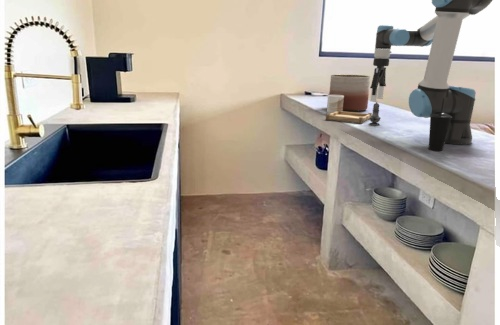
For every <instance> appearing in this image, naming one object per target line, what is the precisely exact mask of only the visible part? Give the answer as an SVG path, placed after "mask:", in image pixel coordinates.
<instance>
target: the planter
mask: <svg viewBox="0 0 500 325" xmlns="http://www.w3.org/2000/svg"><path fill="white" fill-rule="evenodd" d="M329 81H330V83H329V85H330V86H329V92H328V95H343V96H344V105H343V111H344V112H354V113H360V112H363V111H365V110H367V109H368V105H369V95H370V93H369V92H370V84H371V83H370V82H371V76H370V75H365V74H363V75H361V74H331V75H330V80H329Z"/></svg>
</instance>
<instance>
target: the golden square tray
mask: <svg viewBox="0 0 500 325" xmlns="http://www.w3.org/2000/svg"><path fill="white" fill-rule="evenodd" d="M372 114H373V112H368V113H364V112H362V113H361V112H345V111H341V110H337V111H336V112H334V113H331V114H328V113H326V114H325V120H326V121H330V122H331V121H332V122H343V123H350V124H360V125H361V124H365V122H367V121H370V118H369V117H371V116H372Z"/></svg>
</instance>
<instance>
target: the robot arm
mask: <svg viewBox="0 0 500 325" xmlns="http://www.w3.org/2000/svg"><path fill="white" fill-rule="evenodd" d="M492 1H493V0H431V4H432V5H433V6H434V7H435V8H434V14H436V16H434V17H433V18H432V19H430V20H429V21H428V22H426V23H425V24H423V25H422V26H421V27H419V28H418V29H417V28H416V29H407V28H394V26H393V25H389V24H388V25H387V24H386V25H385V24H382V25H378V26H377V30H376V34H375V36H376V37H375V45H374V46H375V47H374V55H373V57H374V58H373V64H372V65H373V66H374V67H375V68H374V72H373V76H372V79H371V83H370V84H371V85H369V89H371V94H370V102H373V103H374V102H375V103H376V102H377V100H378V99H379V100H383V99H384V91H385V87H387V85H386V84H387V83H386V76H387V75H386V72H387V70H386V69H387V67H389V65H390V57H391V53H392V46H395V47H428V46H430V45H431V46H430V50H429V55H428V59H427V64H426V67H425V72H424V76H423V79H422V80H421V81H420V82H418V86H417V88H416V89H413V90H411V92H410V94H409V97H408V106H409V109H410V112H411V113H412V115H414V116H415V117H416V118H424V119H429V118H430V114H433V113H436V112H441V106H442V100H443V98H444V99H445V100H444V106H443V112H445V113H447V114H449V115H451V116H452V118H451V120H450V124H449V127H448V131H447V135H446V139H445V142H444V144H449V145H450V144H452V145H469V144H470V145H471V144H472V141H473V134H472V133H473V132H472V128H471V121H472V117H473V112H474V107H475V106H474V105H475V103H476V102H475V101H476V90H475V89H473V88H470V87H463V86H455V85H449V84H448V78H449V75H450V71H451V67H452V62H453V59H454V55H455V51H456V48H457V43H458V39H459V37H460V32H461V27H462V23H463V20H465V19H466V18H467V17H469V16H470V15H471V16H475V15H477V14H478V13H480V12H481V11H483V10H485V9H486V8H487V7H488V6H489V5H490V4H491V3H492Z"/></svg>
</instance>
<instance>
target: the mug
mask: <svg viewBox="0 0 500 325" xmlns="http://www.w3.org/2000/svg"><path fill="white" fill-rule="evenodd" d="M326 103H327V105H326V114H331V113H334V112H336V111H337V110H341V111H343V105H344V96H343V95H329V94H328V95H327V102H326Z"/></svg>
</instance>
